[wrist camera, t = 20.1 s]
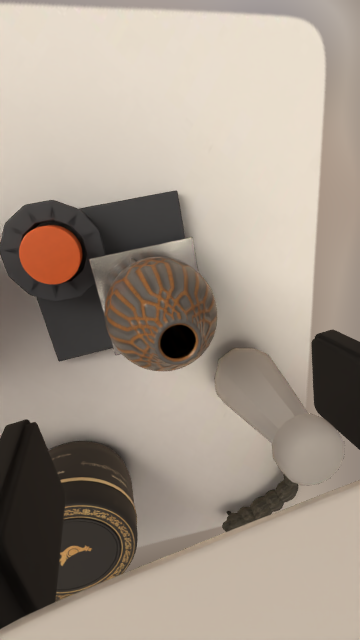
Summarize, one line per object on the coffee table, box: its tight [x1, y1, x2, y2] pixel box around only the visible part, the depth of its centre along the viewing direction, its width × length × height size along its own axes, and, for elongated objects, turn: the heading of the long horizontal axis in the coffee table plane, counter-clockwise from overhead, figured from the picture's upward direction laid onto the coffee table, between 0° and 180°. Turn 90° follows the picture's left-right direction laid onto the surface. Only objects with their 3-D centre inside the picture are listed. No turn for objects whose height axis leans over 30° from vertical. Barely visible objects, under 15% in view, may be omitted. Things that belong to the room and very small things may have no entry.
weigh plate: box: [89, 237, 198, 355], centre depth 24 cm, size 7×7×1 cm
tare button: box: [19, 225, 82, 284], centre depth 21 cm, size 4×4×2 cm
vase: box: [105, 257, 217, 371], centre depth 20 cm, size 7×7×9 cm
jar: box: [49, 441, 137, 602], centre depth 27 cm, size 10×10×8 cm
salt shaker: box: [214, 348, 344, 486], centre depth 25 cm, size 6×6×13 cm
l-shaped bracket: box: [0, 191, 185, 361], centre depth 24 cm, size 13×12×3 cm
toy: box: [222, 474, 298, 532], centre depth 35 cm, size 15×5×3 cm, turn 141°
